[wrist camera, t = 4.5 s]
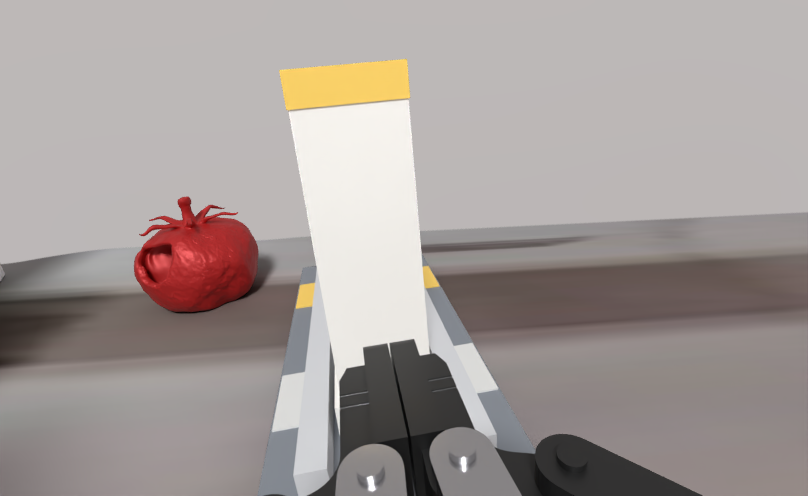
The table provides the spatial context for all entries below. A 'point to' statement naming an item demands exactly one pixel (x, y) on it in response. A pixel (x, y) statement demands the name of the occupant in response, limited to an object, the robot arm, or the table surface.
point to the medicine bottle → (1, 273)
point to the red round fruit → (197, 261)
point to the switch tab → (360, 203)
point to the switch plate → (315, 391)
